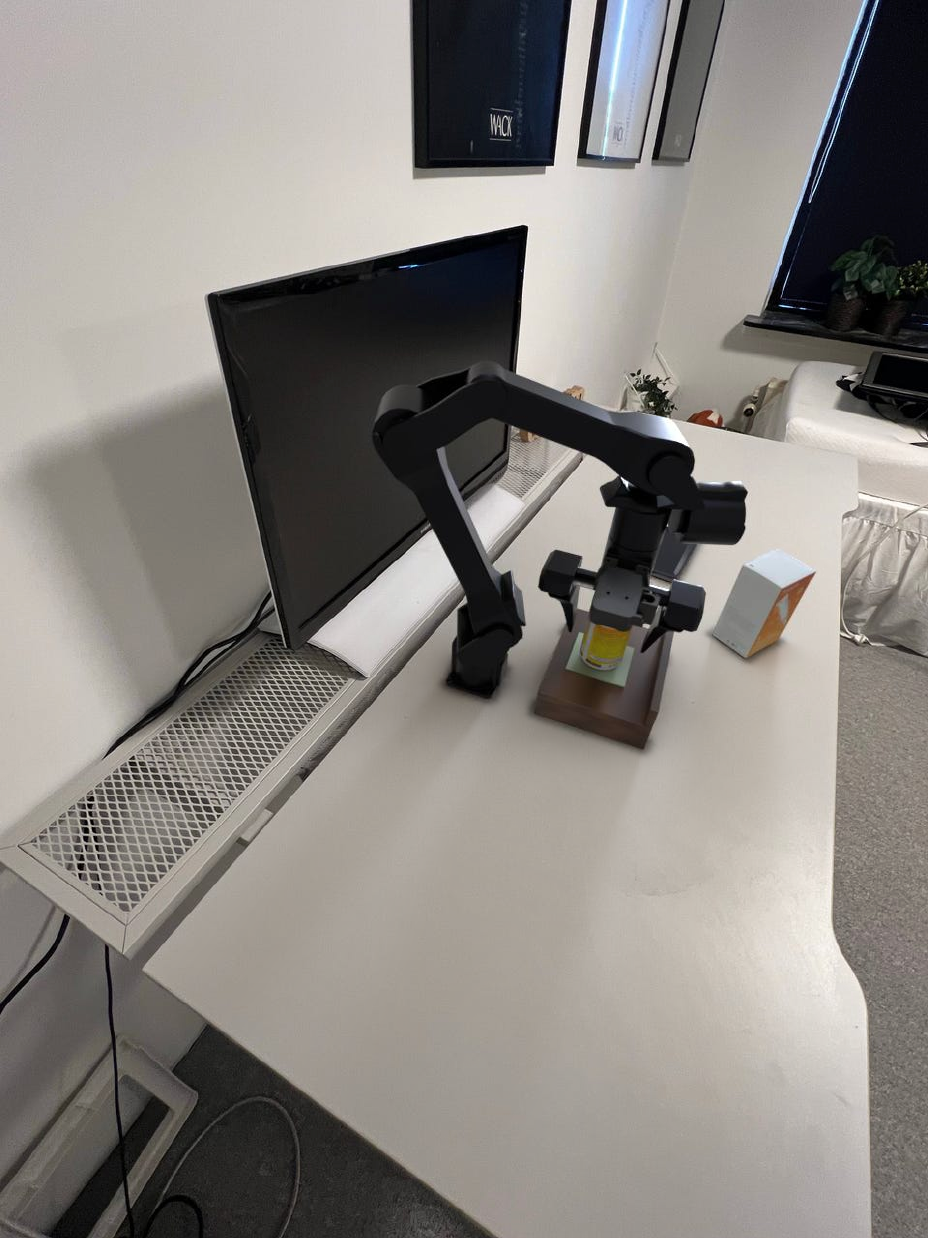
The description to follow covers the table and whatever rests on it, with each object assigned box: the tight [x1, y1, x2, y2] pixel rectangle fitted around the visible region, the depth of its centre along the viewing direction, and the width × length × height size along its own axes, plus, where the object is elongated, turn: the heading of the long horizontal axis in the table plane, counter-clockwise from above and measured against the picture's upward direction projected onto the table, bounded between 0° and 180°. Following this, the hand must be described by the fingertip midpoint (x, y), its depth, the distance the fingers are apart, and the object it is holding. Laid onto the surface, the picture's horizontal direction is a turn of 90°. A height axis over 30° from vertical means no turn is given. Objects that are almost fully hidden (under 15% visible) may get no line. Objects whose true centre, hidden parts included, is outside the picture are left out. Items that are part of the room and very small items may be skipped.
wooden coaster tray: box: [533, 607, 675, 750], centre depth 78 cm, size 14×18×7 cm
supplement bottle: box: [580, 605, 633, 670], centre depth 75 cm, size 6×6×10 cm
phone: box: [651, 526, 698, 583], centre depth 104 cm, size 8×1×15 cm
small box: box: [711, 548, 817, 659], centre depth 84 cm, size 8×6×13 cm
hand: (606, 640), depth 76 cm, fingers open, 9 cm apart
